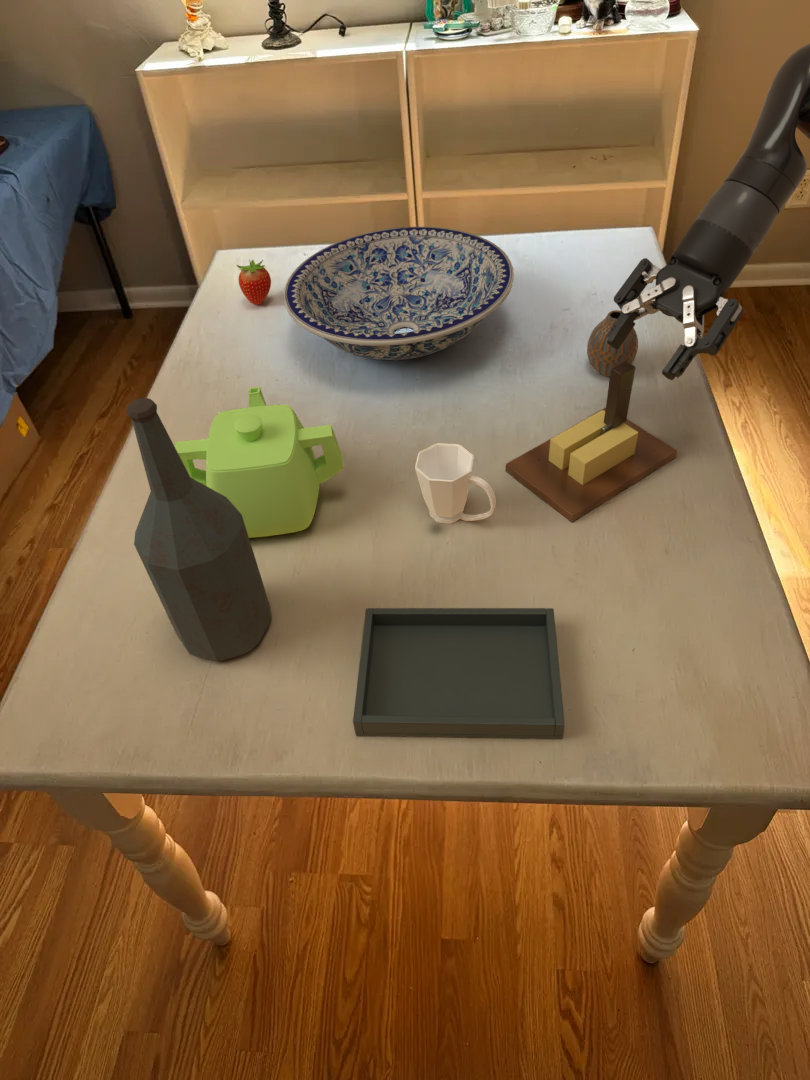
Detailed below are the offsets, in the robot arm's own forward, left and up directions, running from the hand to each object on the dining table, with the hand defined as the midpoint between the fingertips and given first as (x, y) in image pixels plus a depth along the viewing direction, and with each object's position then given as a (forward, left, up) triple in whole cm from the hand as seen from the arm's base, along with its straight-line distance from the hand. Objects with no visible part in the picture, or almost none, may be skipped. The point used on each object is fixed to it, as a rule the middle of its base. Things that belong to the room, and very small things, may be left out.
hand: (638, 361), depth 92 cm
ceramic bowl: (+14, -39, -13) cm, 43 cm away
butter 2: (+6, +3, -12) cm, 13 cm away
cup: (+25, +1, -13) cm, 28 cm away
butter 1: (+6, -1, -12) cm, 13 cm away
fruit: (+31, -60, -13) cm, 69 cm away
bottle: (+55, +4, -13) cm, 57 cm away
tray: (+35, +22, -13) cm, 43 cm away
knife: (+2, 0, -12) cm, 12 cm away
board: (+6, +1, -13) cm, 14 cm away
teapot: (+44, -14, -13) cm, 48 cm away
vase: (-8, -15, -13) cm, 21 cm away
